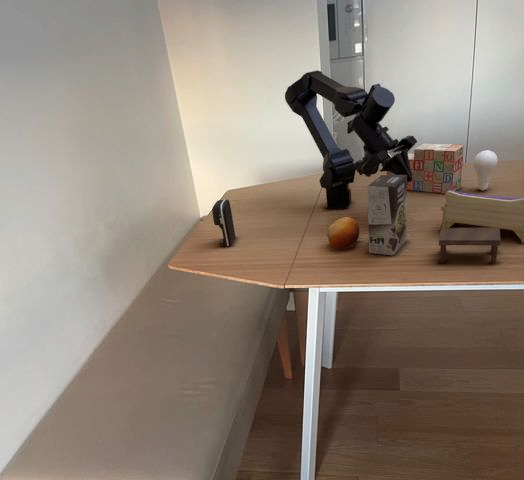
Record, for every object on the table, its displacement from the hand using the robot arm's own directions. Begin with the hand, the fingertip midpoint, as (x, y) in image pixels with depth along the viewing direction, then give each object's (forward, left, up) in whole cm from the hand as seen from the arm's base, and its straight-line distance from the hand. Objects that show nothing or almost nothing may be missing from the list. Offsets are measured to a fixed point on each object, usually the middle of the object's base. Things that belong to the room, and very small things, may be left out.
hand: (410, 180), depth 130 cm
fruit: (-14, -16, -11) cm, 24 cm away
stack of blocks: (+1, +28, -11) cm, 30 cm away
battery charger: (-47, -14, -11) cm, 51 cm away
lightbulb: (+18, +24, -11) cm, 32 cm away
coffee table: (+15, -23, -11) cm, 29 cm away
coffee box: (-3, -17, -11) cm, 20 cm away
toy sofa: (+19, -7, -11) cm, 23 cm away
